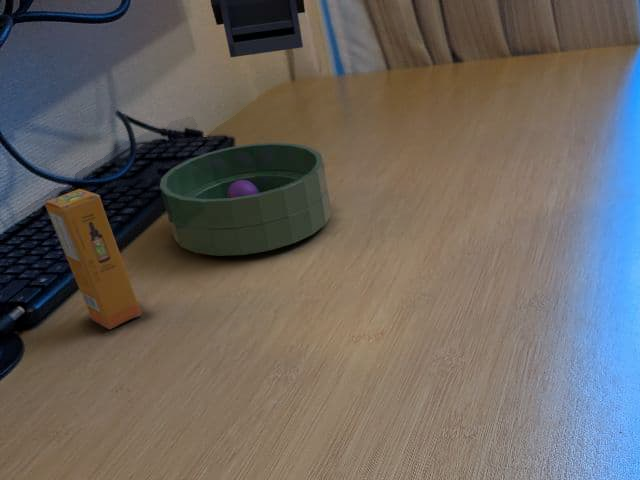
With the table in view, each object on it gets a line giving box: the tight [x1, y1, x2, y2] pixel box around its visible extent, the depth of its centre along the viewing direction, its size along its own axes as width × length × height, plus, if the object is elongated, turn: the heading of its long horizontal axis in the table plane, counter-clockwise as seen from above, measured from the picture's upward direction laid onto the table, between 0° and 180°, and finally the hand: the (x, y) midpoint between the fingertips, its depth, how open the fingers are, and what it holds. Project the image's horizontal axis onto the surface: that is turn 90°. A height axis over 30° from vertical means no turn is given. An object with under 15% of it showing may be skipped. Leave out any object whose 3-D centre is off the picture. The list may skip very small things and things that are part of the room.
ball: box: [227, 180, 259, 198], centre depth 80 cm, size 3×3×3 cm
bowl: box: [159, 142, 332, 257], centre depth 78 cm, size 15×15×6 cm
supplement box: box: [44, 188, 142, 330], centre depth 65 cm, size 3×3×10 cm
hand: (259, 8), depth 79 cm, fingers closed on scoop, 7 cm apart
